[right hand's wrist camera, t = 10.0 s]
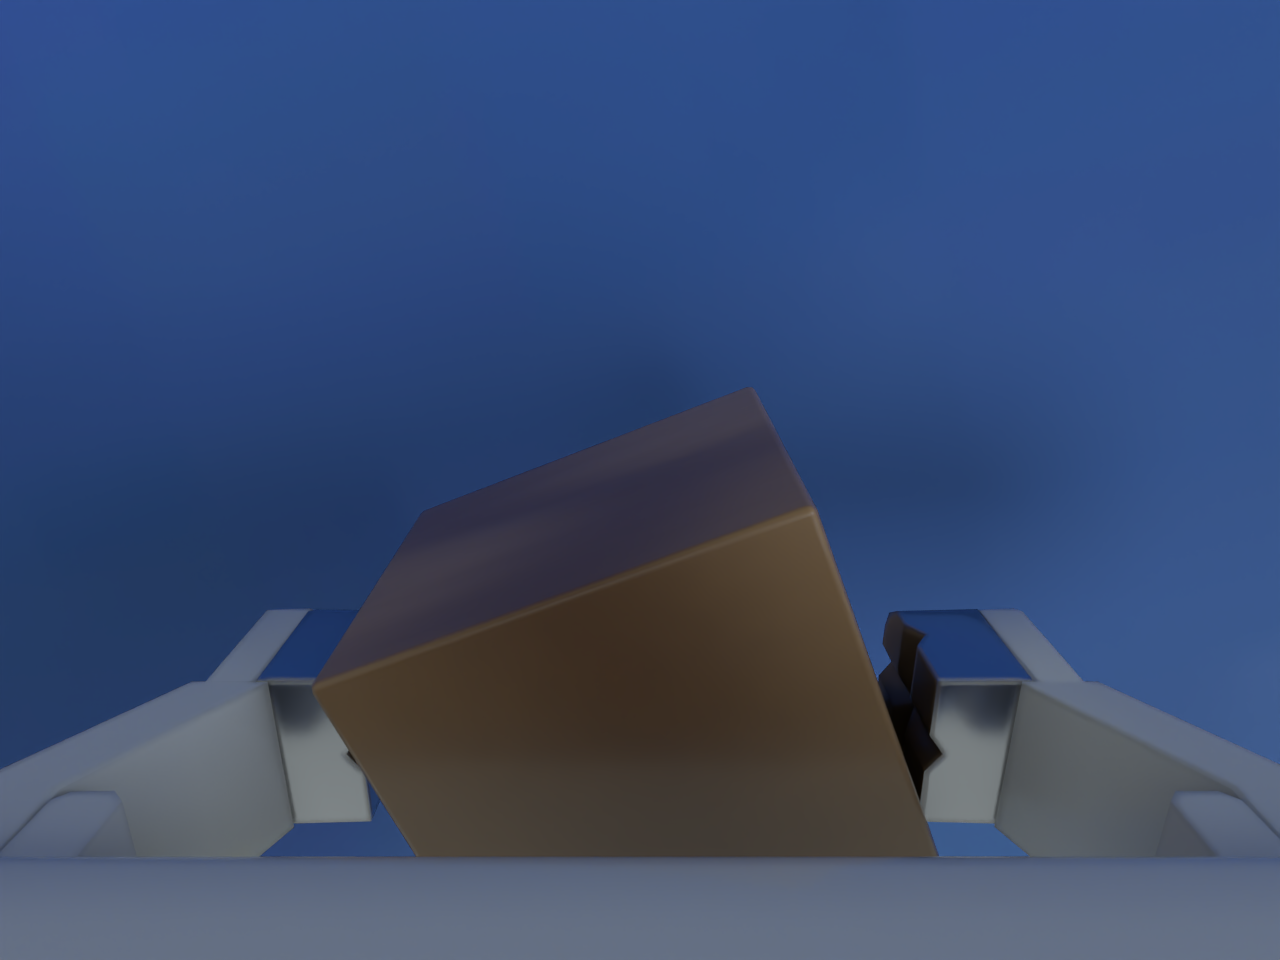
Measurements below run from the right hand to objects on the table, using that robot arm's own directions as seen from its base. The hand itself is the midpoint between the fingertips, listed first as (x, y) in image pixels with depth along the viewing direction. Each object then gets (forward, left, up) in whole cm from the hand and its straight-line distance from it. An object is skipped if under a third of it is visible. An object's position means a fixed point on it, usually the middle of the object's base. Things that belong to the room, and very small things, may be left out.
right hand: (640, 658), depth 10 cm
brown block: (0, 0, -2) cm, 2 cm away
